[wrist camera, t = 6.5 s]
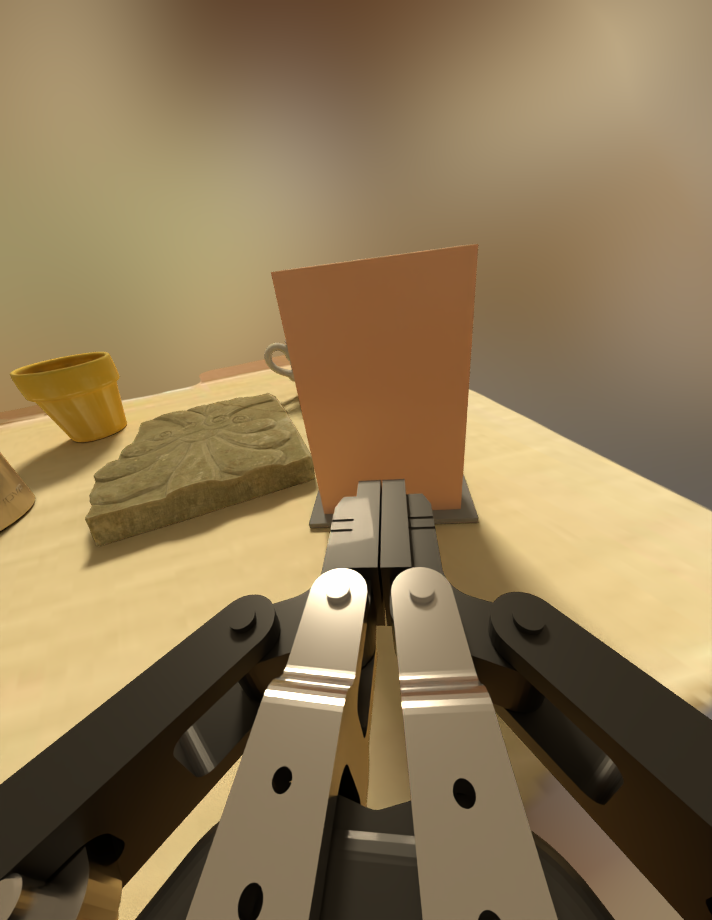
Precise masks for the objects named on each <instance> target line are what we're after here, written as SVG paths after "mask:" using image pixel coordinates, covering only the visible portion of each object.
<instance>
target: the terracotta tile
mask: <svg viewBox="0 0 712 920" xmlns="http://www.w3.org/2000/svg"><path fill="white" fill-rule="evenodd" d="M477 256H478V244H472V245H462V246H455V247H448V248H441V249H434V250H425V251H418V252H411V253H403V254H396V255H389V256H382V257H374V258H367V259H360V260H352V261H345V262H338V263H330V264H323V265H316V266H309V267H301V268H294V269H287V270H281V271H275V272H271V274H272V279H273V284H274V288H275V293H276V298H277V302H278V306H279V311H280V315H281V320H282V325H283V329H284V333H285V338H286V343H287V347H288V352H289V356H290V361H291V365H292V370H293V374H294V379H295V383H296V388H297V392H298V397H299V402H300V406H301V411H302V415H303V420H304V424H305V429H306V433H307V438H308V442H309V447H310V451H311V456H312V460H313V465H314V469H315V474H316V478H317V483H318V487H319V492H320V497H321V501H322V506H323V510H324V514H334V511H335V507H336V506H337V505H338V503H339V502H340V501H341V500H342V498H343V497H353V496H357V489H358V482H359V481H367V480H381V483H382V480H388V479H405V489H406V494H421V493H422V494H423V495H424V496H425V497H426V498H427V500H428V501H429V502H430V503H431V507H432V510H450V509H461V498H462V482H463V467H464V452H465V437H466V422H467V407H468V392H469V377H470V361H471V347H472V332H473V317H474V302H475V301H474V300H475V287H476V271H477Z"/></svg>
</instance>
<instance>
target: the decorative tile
mask: <svg viewBox="0 0 712 920" xmlns="http://www.w3.org/2000/svg"><path fill="white" fill-rule="evenodd" d="M314 477H315V472H314V465H313V460H312V456H311V453H310V452H309V450H308V448H307V446H306V444H305V443H304V441H303V439H302V437H301V436H300V434H299V432H298V430H297V428H296V427H295V425H294V424H293V422H292V420H291V419H290V417H289V416H288V414H287V412H286V410H285V409H284V407H283V406H282V405H281V404H280V402H279V401H278V399H277V398H276V397H275V396H273V395H271V394H270V393H267V394H263V395H259V396H253V397H244V398H242V397H241V398H235V399H232V400H228V401H221V402H216V403H212V404H209V405H202V406H198V407H195V408H191V409H189V410H187V411H176V412H172V413H168V414H164V415H161V416H159V417H157V418H155V419H153V420H150V421H146V422H143V423H141V425H140V428H139V432H138V434H137V436H136V438H135V440H134V441H133V443H132V444H130V445H128V446H127V447H125V448H124V449H123V450H122V452H121V455H120V457H119V460H115V461H112V462H110V463H107V464H106V465H105V466H104V467H103V468H101V469H100V470H99V471H97V472H96V473H95V475H94V478H95V481H96V482H95V484H94V487H93V489H92V491H91V493H90V503H91V505H92V506H91V509H90V511H89V513H88V514H87V516H86V518H85V520H86V522H87V524H88V526H89V528H90V531H91V534H92V536H93V538H94V540H95V542H96V546H102V545H106V544H109V543H112V542H116V541H119V540H122V539H125V538H129V537H132V536H135V535H139V534H142V533H145V532H148V531H152V530H155V529H158V528H161V527H165V526H168V525H171V524H174V523H178V522H181V521H184V520H187V519H191V518H194V517H197V516H200V515H203V514H206V513H210V512H213V511H216V510H219V509H222V508H225V507H228V506H231V505H235V504H238V503H241V502H244V501H247V500H251V499H254V498H257V497H260V496H263V495H266V494H269V493H272V492H275V491H279V490H282V489H285V488H288V487H291V486H294V485H297V484H301V483H304V482H307V481H310V480H312V479H313V478H314Z"/></svg>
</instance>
